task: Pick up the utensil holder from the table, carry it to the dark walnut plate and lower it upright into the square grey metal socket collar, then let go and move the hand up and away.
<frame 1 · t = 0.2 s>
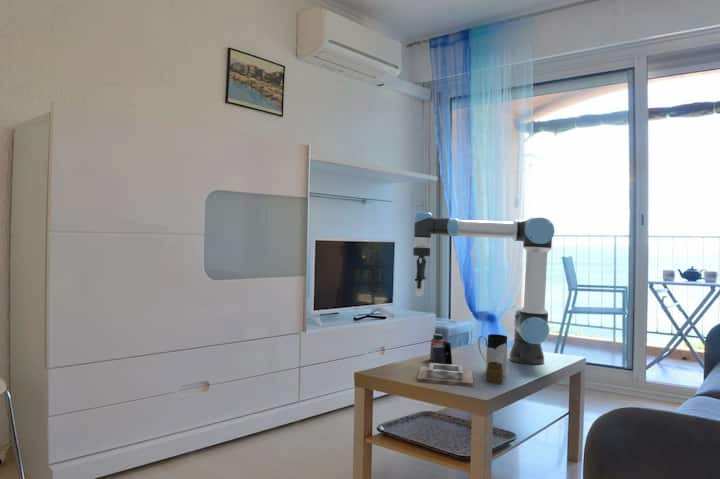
hand: (419, 295, 239), 28 cm above the table, tool pointing down, fingers open, 13 cm apart
socket plate: (445, 377, 204), on the table
utensil holder: (493, 382, 201), on the table
supplement bottle: (436, 360, 236), on the table
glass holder: (490, 372, 218), on the table
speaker: (440, 366, 224), on the table
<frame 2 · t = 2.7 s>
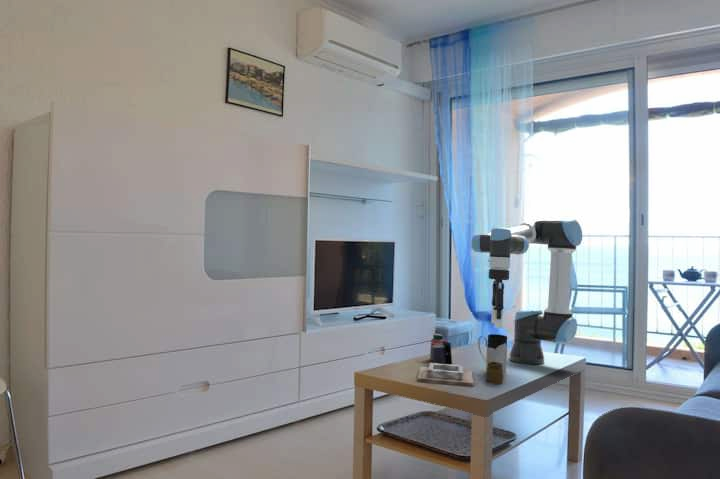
hand: (496, 325, 201), 21 cm above the table, tool pointing down, fingers open, 13 cm apart
nothing on the table moved.
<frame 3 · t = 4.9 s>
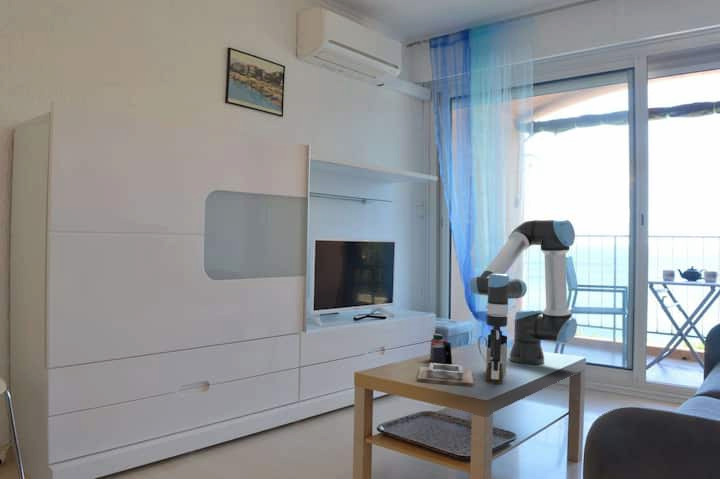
hand: (494, 376, 201), 2 cm above the table, tool pointing down, fingers closed on utensil holder, 6 cm apart
utensil holder: (493, 382, 201), on the table, touching gripper
everything else where it was.
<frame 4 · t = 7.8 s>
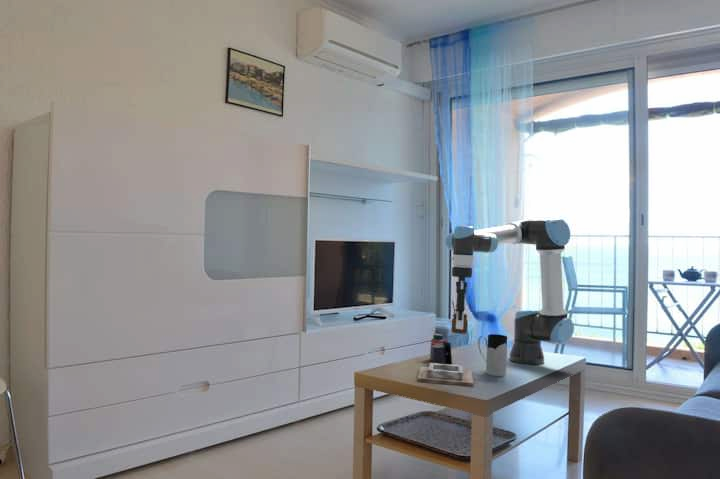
hand: (459, 327, 204), 19 cm above the table, tool pointing down, fingers closed on utensil holder, 6 cm apart
utensil holder: (458, 333, 204), point 17 cm above the table, touching gripper
everything else where it was.
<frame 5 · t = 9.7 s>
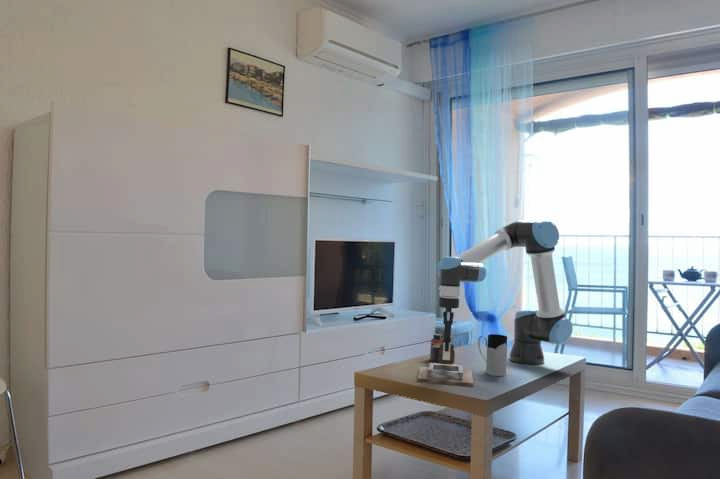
hand: (446, 357, 204), 7 cm above the table, tool pointing down, fingers closed on utensil holder, 6 cm apart
utensil holder: (445, 363, 204), point 5 cm above the table, touching gripper
everything else where it was.
when the fingers open (4 cm above the table, at t = 10.9 s): utensil holder drops 1 cm, resting on socket plate.
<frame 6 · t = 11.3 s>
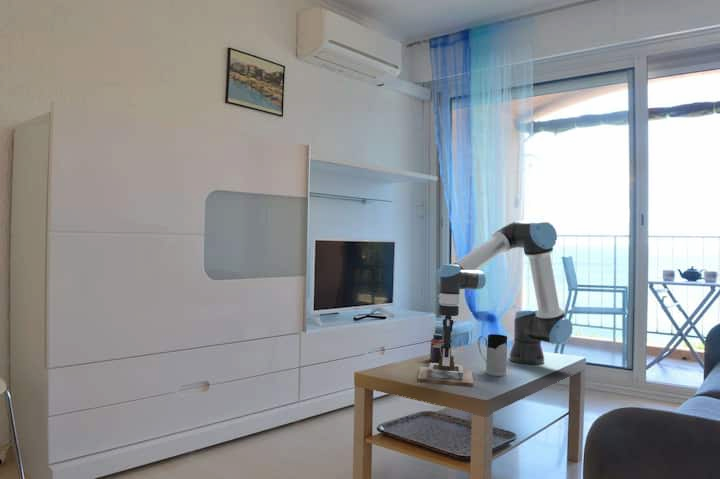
hand: (446, 362, 204), 6 cm above the table, tool pointing down, fingers open, 11 cm apart
utensil holder: (445, 374, 204), point 1 cm above the table, touching socket plate
everything else where it was.
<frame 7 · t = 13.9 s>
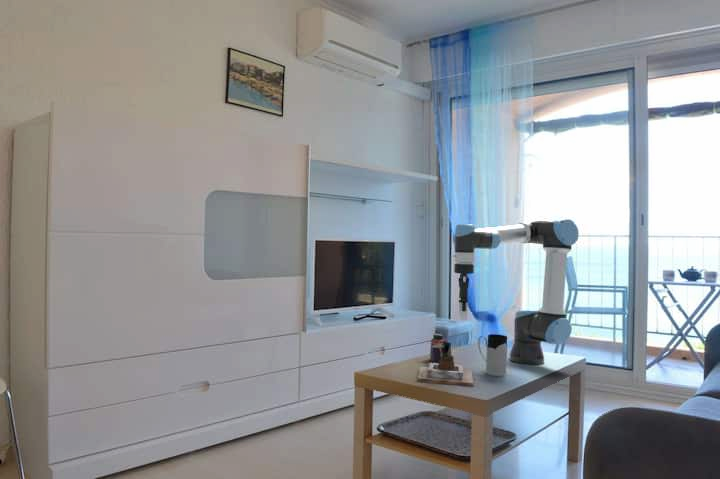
hand: (462, 317, 212), 22 cm above the table, tool pointing down, fingers open, 13 cm apart
nothing on the table moved.
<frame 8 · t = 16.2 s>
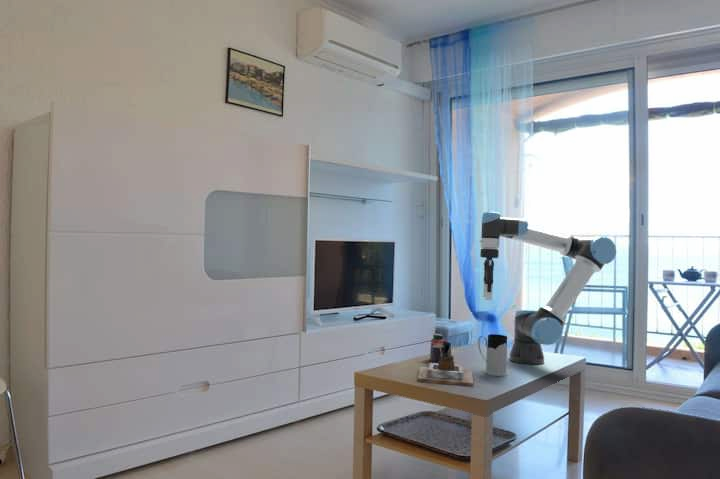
hand: (487, 298, 228), 29 cm above the table, tool pointing down, fingers open, 13 cm apart
nothing on the table moved.
at the end: utensil holder 0.0 cm off-centre on the socket plate, point 1.0 cm above the socket plate's base; utensil holder tilted 0°; the gripper is holding nothing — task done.
